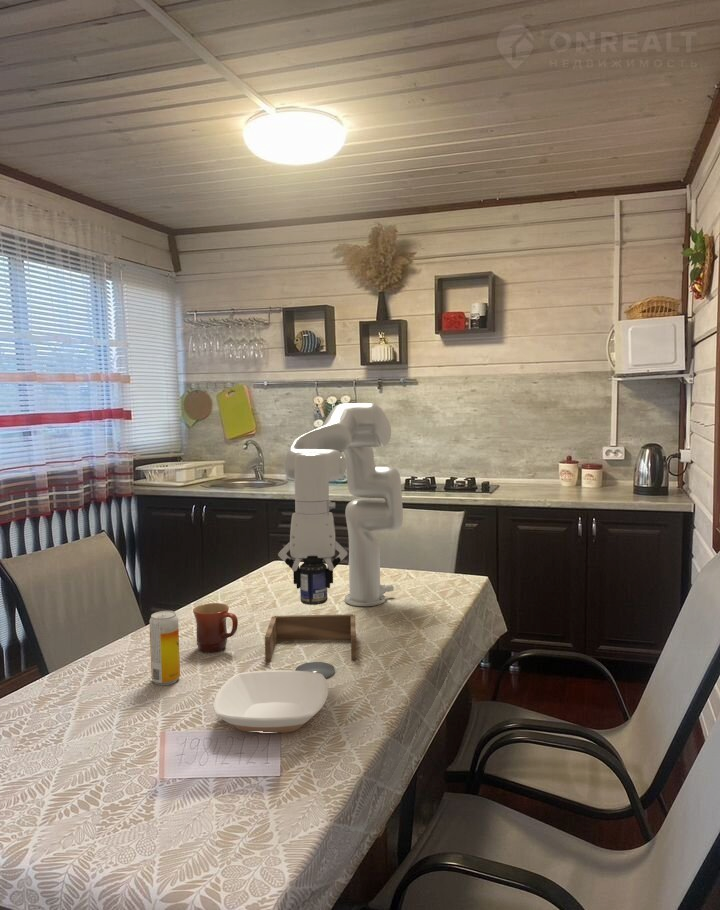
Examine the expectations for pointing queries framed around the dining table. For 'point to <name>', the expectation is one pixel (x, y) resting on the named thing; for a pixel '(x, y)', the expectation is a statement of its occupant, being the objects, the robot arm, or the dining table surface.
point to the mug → (213, 626)
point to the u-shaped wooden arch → (310, 630)
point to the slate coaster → (318, 668)
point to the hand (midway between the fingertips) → (313, 586)
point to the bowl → (271, 700)
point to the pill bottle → (313, 581)
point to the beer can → (164, 647)
